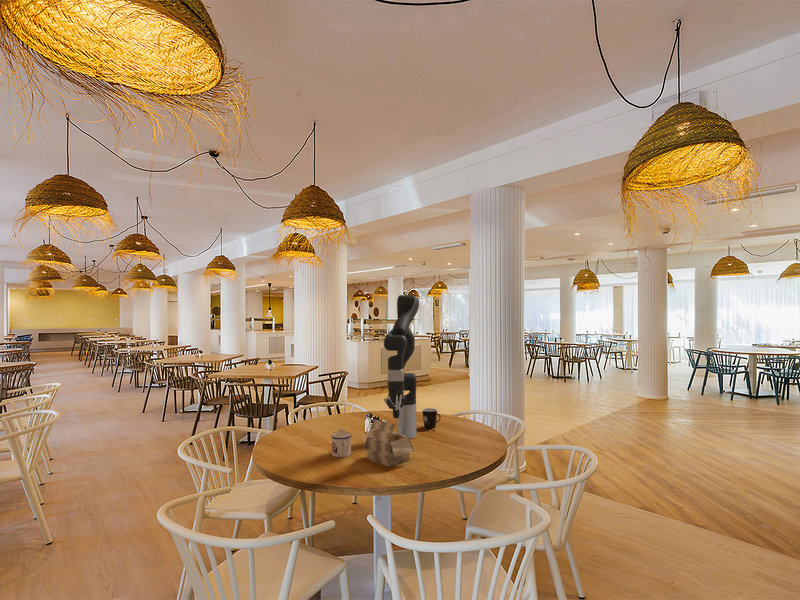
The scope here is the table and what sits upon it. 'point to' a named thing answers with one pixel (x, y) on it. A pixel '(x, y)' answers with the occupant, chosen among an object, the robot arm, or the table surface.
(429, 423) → the coffee mug
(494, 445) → the table surface
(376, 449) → the carton
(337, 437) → the teacup with lid
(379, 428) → the front flap
